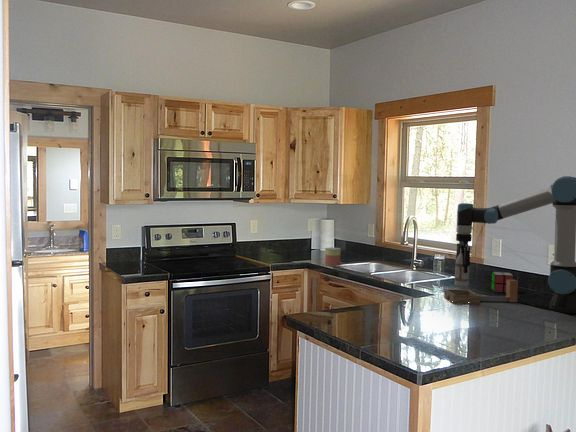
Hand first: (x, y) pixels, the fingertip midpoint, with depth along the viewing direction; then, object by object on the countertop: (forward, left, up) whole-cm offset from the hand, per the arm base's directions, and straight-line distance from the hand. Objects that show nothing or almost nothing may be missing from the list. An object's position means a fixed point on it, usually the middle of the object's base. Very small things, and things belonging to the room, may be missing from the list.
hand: (462, 277), depth 285 cm
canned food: (+117, +55, -12) cm, 130 cm away
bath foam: (0, 0, -4) cm, 4 cm away
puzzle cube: (+29, -33, -12) cm, 46 cm away
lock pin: (0, -17, -12) cm, 21 cm away
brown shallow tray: (0, 0, -12) cm, 12 cm away
